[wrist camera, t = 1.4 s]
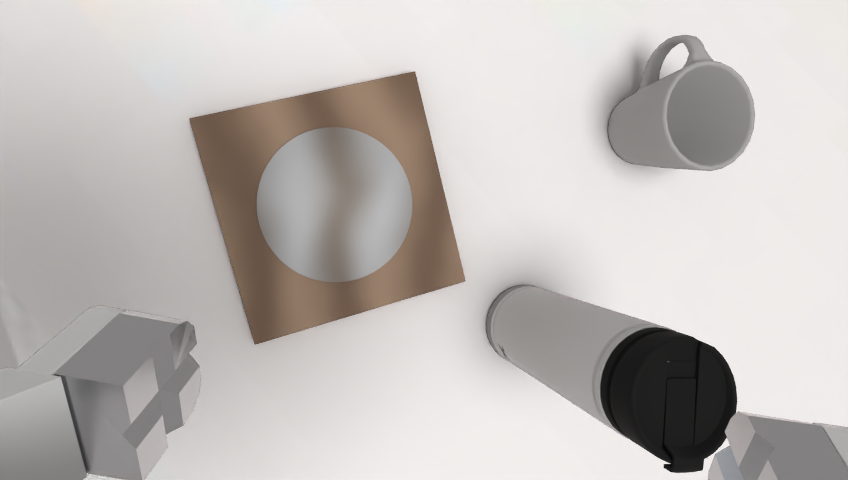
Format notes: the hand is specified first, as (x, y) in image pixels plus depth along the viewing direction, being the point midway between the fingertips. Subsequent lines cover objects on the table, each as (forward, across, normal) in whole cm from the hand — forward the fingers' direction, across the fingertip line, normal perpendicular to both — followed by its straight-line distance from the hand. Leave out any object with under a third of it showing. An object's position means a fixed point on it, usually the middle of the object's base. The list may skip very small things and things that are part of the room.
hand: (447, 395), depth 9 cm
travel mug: (+33, -4, +22) cm, 40 cm away
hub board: (+31, +11, +12) cm, 35 cm away
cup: (+44, -11, +6) cm, 46 cm away
